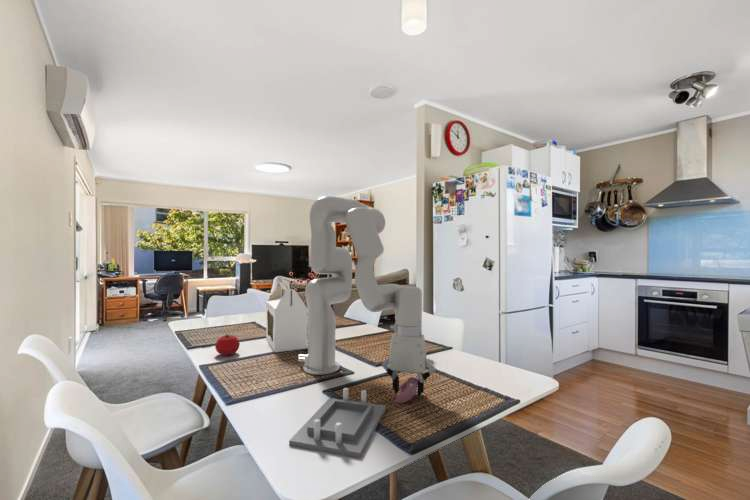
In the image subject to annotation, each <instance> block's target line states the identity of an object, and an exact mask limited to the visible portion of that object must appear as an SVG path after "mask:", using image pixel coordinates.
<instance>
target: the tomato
mask: <svg viewBox="0 0 750 500" xmlns="http://www.w3.org/2000/svg"><path fill="white" fill-rule="evenodd" d="M214 346H215V347H214V348H215V351H216V352H217V353H218V354H219V355H222V356H232V355H233V354H235V353H236V352H237V351H238V350H239V349H240V340H239V338H238V337H237V336H234V335H231V334H228V333H226V334H224V335H223V336H220V337H219V338H218V339H217V341H216V342H215V345H214Z"/></svg>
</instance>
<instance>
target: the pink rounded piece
mask: <svg viewBox="0 0 750 500" xmlns="http://www.w3.org/2000/svg"><path fill="white" fill-rule="evenodd" d="M418 381H419V378H418V376H417V375H411V376H409V378H407V379H406V380H405V381H403V382H402V383H401V384H399V391H401V392H400V393H399V394H398V393H397V394H396V395H397V396H396V397H395V402H396V403H397V404H405V403H407V402H408V401H411V400H412V398H413V397H414V396H418Z"/></svg>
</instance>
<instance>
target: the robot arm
mask: <svg viewBox="0 0 750 500" xmlns="http://www.w3.org/2000/svg"><path fill="white" fill-rule="evenodd" d="M332 223H341V224H345V225H346V227H347V231H348V233H349V237H350V240H351V242H352V244H353V247H354V250H355V252H356V256H357V262H356V265H355V270H354V272H355V273H354V283H355V287H356V290H357V293H358V295H359V298H360V301H361V303H362V306H364V308H365V309H366V310H368V311H370V312H371V313H379V312H383V311H384V312H385V311H387V310H393V309H394V312H395V313H394V314H395V315H394V319H395V320H394V321H395V322H394V324H390V325H389V326H390V327H389V329H390V330H391V331H393V332H394V333H392V335H391V341H390V347H389V348H390V349H389V356H388V357H387V358H386V359H385V360H384V361H383V362H382V363H381V367H382V368H383V369H384V370H385V372H386V373H387V374H388V375H389V377H390V378H391V380H392V390H394V391H393V392H394V394H395V395H398V393H399V391H400V376H399V375H398V374H399V372H400V373H408V374H416V376H417V377H418V378H419V381H418V384H417V391H418V393H417V397H421V396H422V394H424V392H425V391H424V390H425V386H424V385H425V381H426V380H427V379H428V378H429V377H430V376H431V375H433V374H434V372H436V370H437V369H436V367H435V366H434V365H433V363H432V362H431V361H430V360H429V359H428V358H427V347H426V346H427V345H426V339H425V336H424V334H422V333H423V331H422V330H423V329H422V326H423V325H422V324H423V323H422V320H423V319H422V318H423V317H422V316H423V315H422V314H423V313H422V312H423V310H422V308H423V306H422V305H423V301H422V300H423V298H422V297H423V296H422V295H423V292H422V290H421V288H419V287H417V286H413V285H410V286H409V285H408V286H407V285H405V286H404V285H401V284H398V283H386V284H385V283H383V284H378V282H377V279H376V277H375V272H374V271H375V270H374V266H375V261H376V260H377V259H378V258H379V257H380V256H381V255H383V253H384V250H385V248H384V245H383V242H382V241H381V237H380V235H379V234H381V233H382V232H383V231H384V229H385V228H386V227H385V226H386V218H385V216H384V214H383V212H382V211H380V210H378V209H377V208H374V207H372V206H370V205H367V204H365V203H362V202H360V201H358V200H355V199H349V198H344V197H339V196H330V195H329V196H327V195H325V196H320V197H319V198H317V199H315V200H314V202H313V203H312V205H311V207H310V211H309V224H310V225H309V226H310V232H311V233H310V234H311V237H310V269H311V270H312V272H313V273H315V274H318V275H331V277H330V276H329V277H318V278H315V279H312V280H310V281H309V282H308V283H307V285H306V286H305V289H304V296H305V301H306V307H307V354H302V353H300V354H298V357H297V360H298V362H303V363H304V364H303V367H302V370H303V371H304V373H307V374H309V375H315V376H316V375H317V376H318V375H330V374H333V373H335V372H338V371H339V369H340V367H341V365H340V363H339V362H338V361H336V314H335V311H334V310H333V308H332V306H331V305H335V304H340V303H344V302H346V301H348V299H349V298H350V297H351V295H352V294H351V293H352V288H353V286H352V284H353V258H352V255H351V253H350V252H349V250H348V249H347V248H344V247H341V246H340V247H339V246H337V245H336V244H337V243H336V241H337V235H336V231H335V228H334V226H333V225H332ZM426 367H427V368H426ZM426 369H428V370H426Z"/></svg>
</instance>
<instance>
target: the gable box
mask: <svg viewBox="0 0 750 500" xmlns="http://www.w3.org/2000/svg"><path fill="white" fill-rule="evenodd" d="M278 283H279V285H278V286H277V287H276V288H275V289H274V291H273V293H272V294H271V295H270V297H269V299H268V300H266V319H265V320H266V321H265V323H266V326H265V327H266V334H265V335H266V337H265V338H266V341H267V343H268V345H269V346H270V347H271V348H272V350H273V352H274V353H282V352H290V351H298V350H306V349H308V309H307V305H306V304H305V303H304V300H302V298H301V297H300V295H299V293H298V292H297V291H296V290H295V289H294V288H292V283H291V281H289V280H287V279H285V278H282V279H281V281H279V280H278Z"/></svg>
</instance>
